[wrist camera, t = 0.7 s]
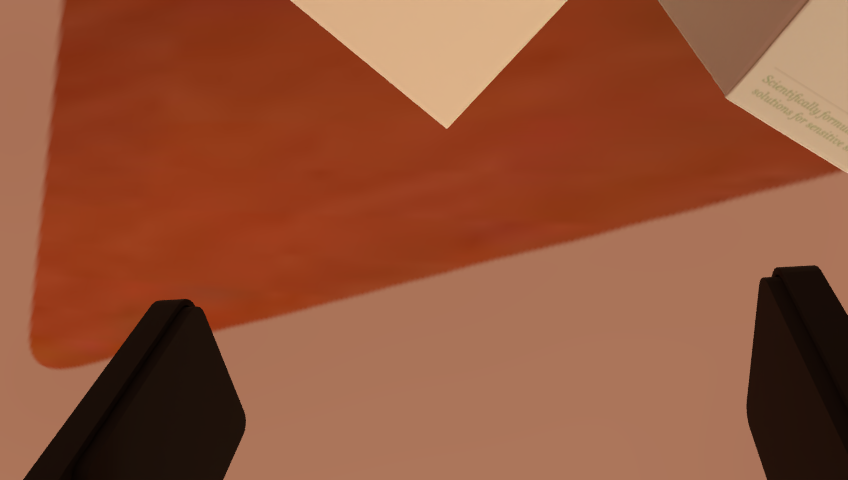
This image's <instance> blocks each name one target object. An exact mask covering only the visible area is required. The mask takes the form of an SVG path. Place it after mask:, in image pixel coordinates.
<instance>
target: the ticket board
mask: <svg viewBox="0 0 848 480" xmlns="http://www.w3.org/2000/svg"><path fill="white" fill-rule="evenodd" d="M291 1H292V2H293V3H294V4H296V5H297V6H298V7H299V8H300V9H302V10H303V11H304V12H305V13H306V14H308V15H309V16H310V17H311V18H313V19H314V20H315V21H316V22H317V23H319V24H320V25H321V26H322V27H323V28H325V29H326V30H327V31H328V32H330V33H331V34H332V35H333V36H334V37H336V38H337V39H338V40H339V41H341V42H342V43H343V44H344V45H345V46H347V47H348V48H349V49H350V50H351V51H353V52H354V53H355V54H356V55H358V56H359V57H360V58H361V59H362V60H364V61H365V62H366V63H367V64H368V65H370V66H371V67H372V68H373V69H375V70H376V71H377V72H378V73H379V74H381V75H382V76H383V77H384V78H385V79H387V80H388V81H389V82H390V83H392V84H393V85H394V86H395V87H396V88H398V89H399V90H400V91H401V92H403V93H404V94H405V95H406V96H407V97H409V98H410V99H411V100H412V101H413V102H415V103H416V104H417V105H418V106H420V107H421V108H422V109H423V110H424V111H426V112H427V113H428V114H429V115H430V116H432V117H433V118H434V119H435V120H437V121H438V122H439V123H440V124H441V125H443V126H444V127H445V128H446V129H447V128H448V127H449V126H450V125H451V124H452V123H453V122H454V121H455V120H456V119H457V118H458V116H459V115H460V114H461V113H462V112H463V111H464V110H465V109H466V108H467V107H468V106H469V105H470V104H471V103H472V102H473V100H474V99H475V98H476V97H477V96H478V95H479V94H480V93H481V92H482V91H483V90H484V89H485V88H486V87H487V86H488V84H489V83H490V82H491V81H492V80H493V79H494V78H495V77H496V76H497V75H498V74H499V73H500V72H501V71H502V70H503V68H504V67H505V66H506V65H507V64H508V63H509V62H510V61H511V60H512V59H513V58H514V57H515V56H516V55H517V53H518V52H519V51H520V50H521V49H522V48H523V47H524V46H525V45H526V44H527V43H528V42H529V41H530V40H531V39H532V37H533V36H534V35H535V34H536V33H537V32H538V31H539V30H540V29H541V28H542V27H543V26H544V25H545V24H546V23H547V21H548V20H549V19H550V18H551V17H552V16H553V15H554V14H555V13H556V12H557V11H558V10H559V9H560V8H561V7H562V5H563V4H564V3H565V2H566V1H567V0H291Z"/></svg>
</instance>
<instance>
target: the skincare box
mask: <svg viewBox="0 0 848 480" xmlns="http://www.w3.org/2000/svg"><path fill="white" fill-rule="evenodd" d="M658 1H659V3H660V4H661V5H662V7H663V8H664V10H665V11H666V13H667V14H668V16H669V17H670V18H671V19H672V21H673V22H674V24H675V25H676V27H677V28H678V29H679V31H680V32H681V34H682V35H683V37H684V38H685V39H686V41H687V42H688V44H689V45H690V46H691V48H692V49H693V51H694V52H695V54H696V55H697V56H698V58H699V59H700V60H701V62H702V63H703V65H704V66H705V68H706V69H707V70H708V71H709V73H710V74H711V75H712V77H713V79H714V80H715V82H716V83H717V85H718V86H719V88H720V89H721V91H722V92H723V93H724V95H725V98H726V99H728V100H729V101H731V102H733V103H734V104H736V105H737V106H739V107H741V108H742V109H744V110H746V111H747V112H749V113H750V114H752V115H754V116H755V117H757V118H758V119H760V120H761V121H763V122H765V123H766V124H768V125H769V126H771V127H773V128H774V129H776V130H778V131H779V132H781V133H782V134H784V135H786V136H787V137H789V138H791V139H792V140H794V141H795V142H797V143H799V144H800V145H802V146H804V147H805V148H807V149H809V150H810V151H812V152H813V153H815V154H817V155H818V156H820V157H822V158H823V159H825V160H827V161H828V162H830V163H831V164H833V165H835V166H836V167H838V168H840V169H841V170H843V171H844V172H846V173H848V0H658Z"/></svg>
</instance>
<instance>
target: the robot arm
mask: <svg viewBox="0 0 848 480" xmlns="http://www.w3.org/2000/svg"><path fill="white" fill-rule="evenodd" d="M747 418H748V423H749V427H750V430H751V433H752V436H753V439H754V442H755V444H756V447H757V450H758V454H759V457H760V459H761V462H762V465H763V469H764V471H765V474H766V477H767V480H848V315H847V314H846V312H845V310H844V309H843V307H842V305H841V303H840V302H839V300H838V298H837V297H836V295H835V293H834V292H833V290H832V288H831V287H830V286H829V283H828V282H827V280H826V278H825V276H824V275H823V273H822V272H821V270H820V269H819V267H817V266H815V265H814V266H795V267H777V268H775V269H774V271H773V274H772V277H767V278H766V277H765V278H762V279H761V280H760V284H759V292H758V301H757V311H756V320H755V330H754V339H753V349H752V358H751V367H750V376H749V387H748V396H747ZM245 425H246V419H245V413H244V410H243V408H242V405H241V403H240V400H239V398H238V395H237V393H236V390H235V388H234V385H233V383H232V380H231V378H230V376H229V374H228V371H227V368H226V366H225V363H224V361H223V358H222V356H221V353H220V351H219V348H218V346H217V343H216V341H215V338H214V336H213V333H212V331H211V328H210V326H209V324H208V321H207V319H206V316H205V314H204V312H203V310H202V309H201V308H200V307H195V305H194V304H193V302H191V301H190V300H188V299H178V300H160V301H156V302H154V303H153V304H152V305H151V307H150V308H149V309H148V311H147V312H146V313H145V315H144V316H143V318H142V319H141V320H140V322H139V323H138V324H137V326H136V327H135V328H134V330H133V331H132V332H131V334H130V335H129V337H128V338H127V339H126V341H125V342H124V343H123V345H122V346H121V347H120V349H119V350H118V351H117V353H116V354H115V356H114V357H113V358H112V360H111V361H110V362H109V364H108V365H107V367H106V368H105V369H104V371H103V372H102V373H101V375H100V376H99V377H98V379H97V380H96V381H95V383H94V384H93V386H92V387H91V388H90V390H89V391H88V392H87V394H86V395H85V396H84V398H83V399H82V401H81V402H80V403H79V404H78V406H77V407H76V409H75V410H74V411H73V413H72V414H71V415H70V417H69V418H68V419H67V421H66V422H65V423H64V425H63V426H62V428H61V429H60V430H59V432H58V433H57V434H56V436H55V437H54V439H53V440H52V441H51V442H50V444H49V445H48V447H47V448H46V449H45V451H44V452H43V453H42V455H41V456H40V458H39V459H38V460H37V462H36V463H35V464H34V466H33V467H32V468H31V470H30V471H29V472H28V474H27V475H26V476H25V478H24V479H23V480H223V479H224V476H225V474H226V472H227V470H228V467H229V465H230V463H231V460H232V459H233V456H234V454H235V452H236V450H237V447H238V445H239V443H240V441H241V438H242V436H243V434H244V431H245Z"/></svg>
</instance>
